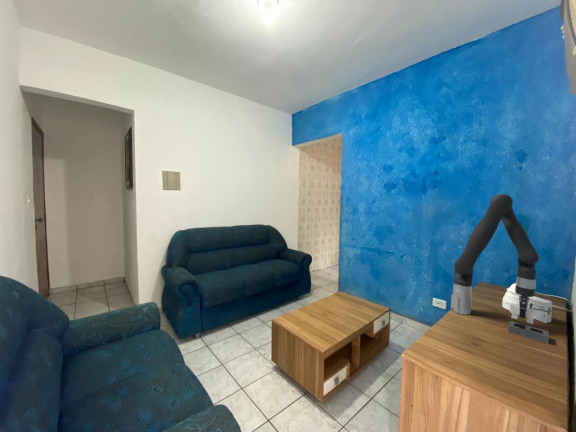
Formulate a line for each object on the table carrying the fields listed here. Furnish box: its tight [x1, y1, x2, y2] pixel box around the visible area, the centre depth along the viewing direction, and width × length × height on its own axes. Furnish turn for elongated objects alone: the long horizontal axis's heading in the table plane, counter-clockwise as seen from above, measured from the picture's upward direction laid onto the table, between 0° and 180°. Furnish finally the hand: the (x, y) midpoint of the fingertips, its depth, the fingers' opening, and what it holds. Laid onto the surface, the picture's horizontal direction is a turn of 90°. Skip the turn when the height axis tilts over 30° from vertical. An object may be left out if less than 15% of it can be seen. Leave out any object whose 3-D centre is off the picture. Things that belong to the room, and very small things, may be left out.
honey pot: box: [501, 282, 521, 311], centre depth 147 cm, size 13×13×18 cm
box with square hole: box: [507, 320, 550, 344], centre depth 119 cm, size 14×7×4 cm, turn 42°
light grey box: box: [509, 304, 537, 325], centre depth 127 cm, size 10×3×7 cm, turn 42°
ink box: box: [528, 296, 553, 324], centre depth 134 cm, size 8×5×12 cm, turn 17°
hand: (522, 316), depth 127 cm, fingers closed on light grey box, 3 cm apart
